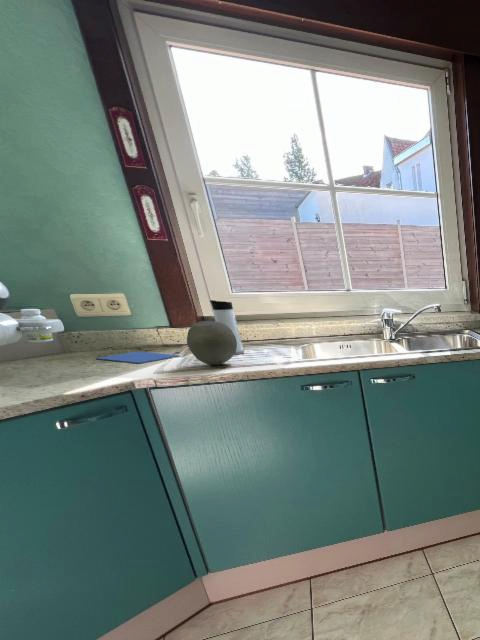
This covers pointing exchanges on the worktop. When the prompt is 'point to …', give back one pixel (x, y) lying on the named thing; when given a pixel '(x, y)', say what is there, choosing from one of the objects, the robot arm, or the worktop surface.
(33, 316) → the supplement bottle
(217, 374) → the worktop surface
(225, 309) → the travel mug
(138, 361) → the blue cloth
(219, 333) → the cantaloupe
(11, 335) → the robot arm
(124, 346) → the worktop surface
